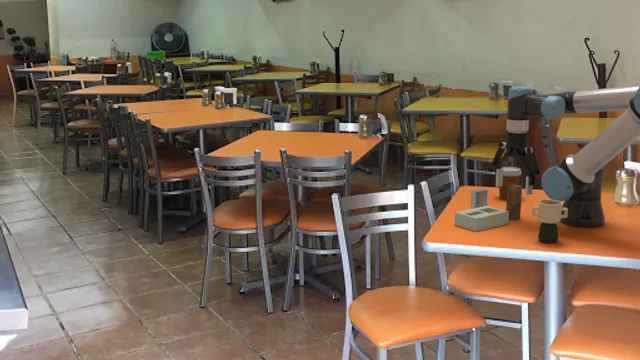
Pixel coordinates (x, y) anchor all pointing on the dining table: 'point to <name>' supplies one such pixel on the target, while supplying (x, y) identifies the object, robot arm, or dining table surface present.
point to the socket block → (481, 218)
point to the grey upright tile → (479, 198)
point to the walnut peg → (514, 201)
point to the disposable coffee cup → (509, 180)
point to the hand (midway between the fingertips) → (513, 190)
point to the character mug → (549, 218)
